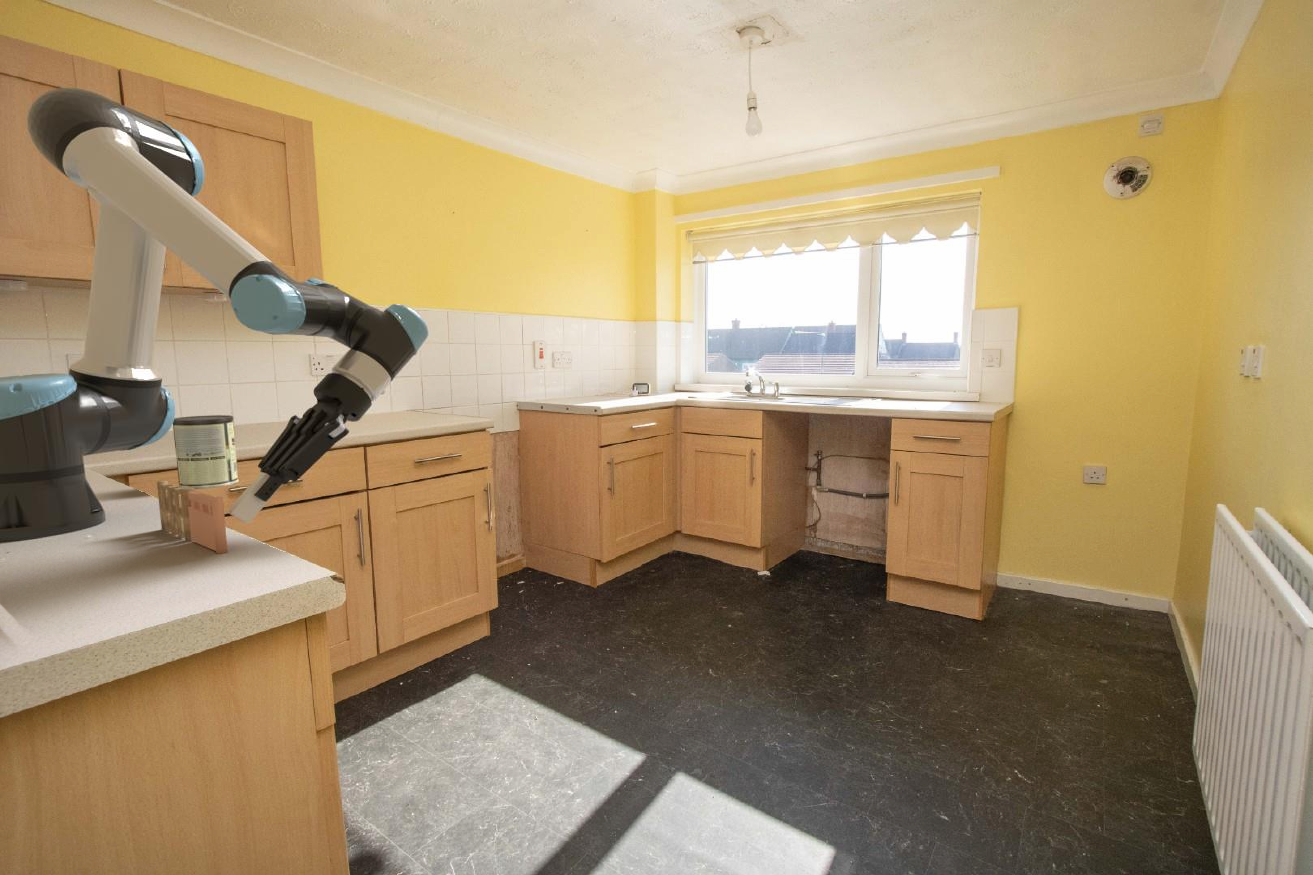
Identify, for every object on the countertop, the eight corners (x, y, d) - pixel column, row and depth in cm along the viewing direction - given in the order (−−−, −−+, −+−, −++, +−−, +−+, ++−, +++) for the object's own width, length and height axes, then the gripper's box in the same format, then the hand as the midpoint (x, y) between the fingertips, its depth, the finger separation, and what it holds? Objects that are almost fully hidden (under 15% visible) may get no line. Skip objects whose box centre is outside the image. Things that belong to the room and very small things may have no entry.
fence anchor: (159, 532, 91) (153, 481, 90) (172, 529, 92) (167, 480, 91) (187, 544, 84) (182, 490, 83) (201, 542, 86) (196, 488, 85)
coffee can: (171, 485, 129) (165, 417, 127) (229, 478, 137) (224, 414, 135) (186, 491, 123) (179, 420, 121) (246, 483, 130) (240, 416, 129)
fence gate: (190, 542, 84) (185, 490, 83) (200, 540, 85) (196, 489, 84) (218, 554, 79) (213, 499, 78) (229, 551, 80) (224, 497, 79)
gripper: (393, 405, 93) (283, 540, 81) (347, 402, 100) (239, 525, 89) (357, 370, 88) (234, 508, 76) (311, 370, 95) (192, 495, 84)
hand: (237, 517), depth 83 cm, fingers closed
